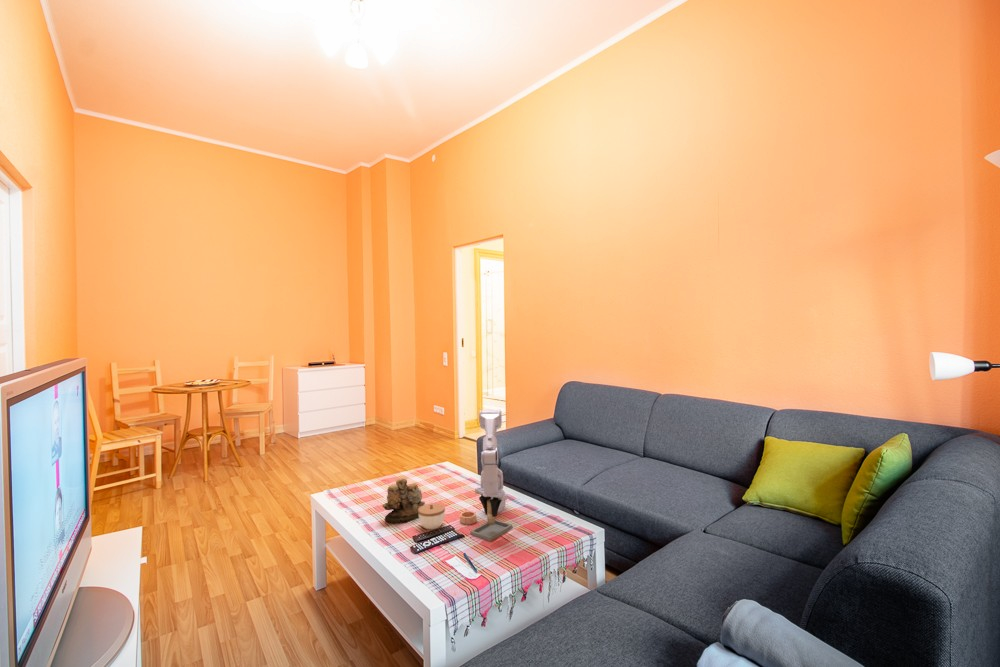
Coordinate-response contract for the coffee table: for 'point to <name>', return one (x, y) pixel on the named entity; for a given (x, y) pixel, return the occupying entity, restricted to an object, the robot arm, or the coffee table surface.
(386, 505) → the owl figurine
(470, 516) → the cup
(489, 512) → the dowel
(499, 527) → the tray
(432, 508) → the lidded jar
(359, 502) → the coffee table surface
